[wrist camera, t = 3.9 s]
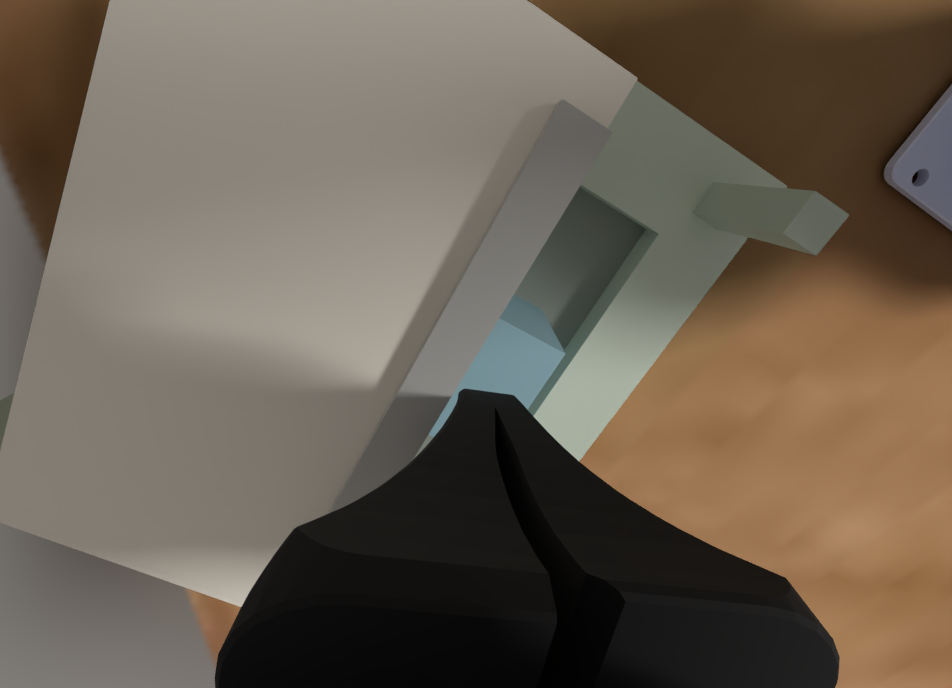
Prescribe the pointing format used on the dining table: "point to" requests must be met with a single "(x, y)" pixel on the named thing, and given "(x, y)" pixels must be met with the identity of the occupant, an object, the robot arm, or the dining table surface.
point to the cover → (283, 262)
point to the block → (512, 357)
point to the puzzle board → (645, 256)
